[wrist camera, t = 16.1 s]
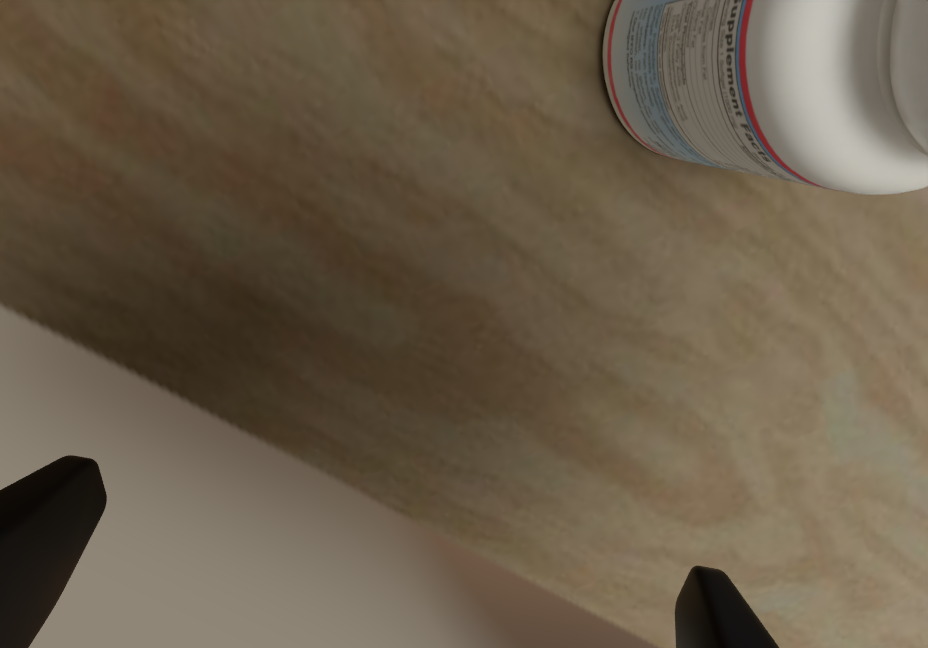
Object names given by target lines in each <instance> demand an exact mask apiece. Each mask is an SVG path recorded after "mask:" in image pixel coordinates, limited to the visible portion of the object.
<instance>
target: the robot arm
mask: <svg viewBox="0 0 928 648" xmlns="http://www.w3.org/2000/svg"><path fill="white" fill-rule="evenodd" d="M106 497H107V496H106V492H105V488H104V484H103V481H102V477H101V474H100V470H99V466H98V464H97V463H96V462H95V461H94V460H93V459H90V458H84V457H78V456H65V457H62V458H60V459H58V460H56V461H54V462H52V463H50V464H49V465H47V466H45V467H43V468H41V469H40V470H37V471H35V472H34V473H32V474H30V475H28V476H26V477H24V478H22V479H20V480H18V481H17V482H15V483H13V484H11V485H9V486H7V487H5V488H4V489H2V490H0V648H28V647H29V646H30V644H31V643H32V641H33V639H34V638H35V636H36V635H37V633H38V632H39V630H40V629H41V627H42V626H43V624H44V623H45V621H46V619H47V618H48V616H49V614H50V613H51V611H52V610H53V608H54V606H55V605H56V603H57V601H58V599H59V597H60V596H61V594H62V592H63V590H64V588H65V586H66V584H67V582H68V580H69V578H70V577H71V575H72V573H73V571H74V569H75V567H76V565H77V563H78V561H79V559H80V557H81V555H82V553H83V551H84V549H85V547H86V545H87V543H88V541H89V539H90V537H91V535H92V534H93V532H94V529H95V528H96V526H97V524H98V522H99V520H100V518H101V516H102V514H103V512H104V509H105V506H106V501H107V500H106ZM675 630H676V648H779V647H778V645H777V644H776V643H775V641H774V640H773V638H772V637H771V636H770V634H769V633H768V631H767V630H766V629H765V627H764V626H763V624H762V623H761V622H760V620H759V619H758V618H757V616H756V615H755V613H754V612H753V611H752V609H751V608H750V606H749V605H748V604H747V602H746V601H745V599H744V598H743V597H742V595H741V594H740V593H739V591H738V590H737V588H736V587H735V586H734V584H733V583H732V581H731V580H730V579H729V577H728V576H727V575H726V574H725V573H724V572H723V571H721V570H719V569H714V568H709V567H703V566H695V567H693V568H692V569H691V571H690V572H689V574H688V577H687V579H686V581H685V583H684V585H683V587H682V589H681V592H680V594H679V596H678V598H677V601H676V607H675Z"/></svg>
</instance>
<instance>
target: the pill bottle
mask: <svg viewBox="0 0 928 648" xmlns="http://www.w3.org/2000/svg"><path fill="white" fill-rule="evenodd" d="M603 69H604V77H605V82H606V86H607V90H608V94H609V97H610V100H611V103H612V106H613V108H614V110H615V112H616V114H617V116H618V118H619V120H620V121H621V123H622V124H623V126H624V127H625V128H626V130H627V131H628V132H629V133H630V134H631V136H632V137H634V138H635V139H636V140H637V141H638V142H639V143H641V144H642V145H643V146H645V147H647V148H648V149H650V150H651V151H653V152H656V153H658V154H660V155H663V156H666V157H670V158H673V159H677V160H682V161H687V162H692V163H697V164H703V165H707V166H713V167H718V168H723V169H728V170H733V171H738V172H744V173H749V174H754V175H759V176H764V177H770V178H775V179H780V180H785V181H790V182H796V183H801V184H806V185H811V186H816V187H822V188H826V189H831V190H836V191H843V192H850V193H857V194H868V195H880V194H896V193H903V192H908V191H913V190H917V189H922V188H925V187H928V0H615V1H614V3H613V5H612V8H611V10H610V13H609V16H608V19H607V24H606V28H605V33H604V41H603Z"/></svg>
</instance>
